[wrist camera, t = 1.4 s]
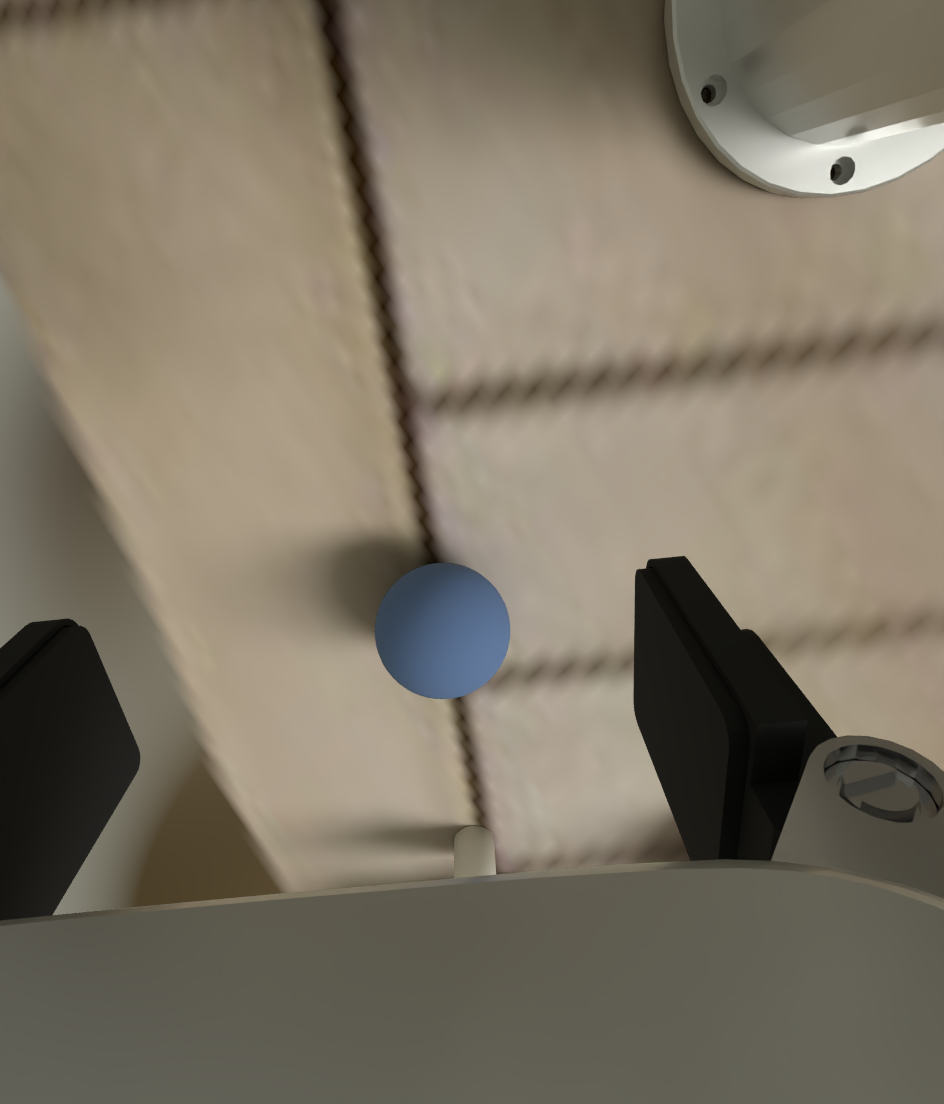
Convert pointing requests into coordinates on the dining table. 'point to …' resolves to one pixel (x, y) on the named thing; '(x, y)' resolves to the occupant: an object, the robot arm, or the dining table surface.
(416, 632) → the ball
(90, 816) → the robot arm
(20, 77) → the dining table surface
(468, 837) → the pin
